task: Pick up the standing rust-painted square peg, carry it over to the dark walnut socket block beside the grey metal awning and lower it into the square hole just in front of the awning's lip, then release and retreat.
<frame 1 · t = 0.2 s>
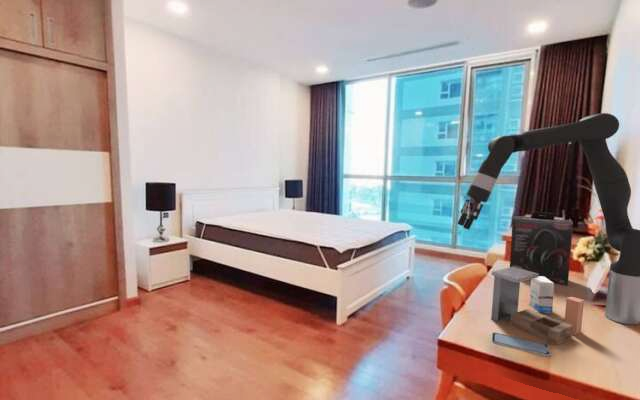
hand: (462, 226, 126), 31 cm above the table, tool tilted 20°, fingers open, 8 cm apart
socket block: (539, 331, 110), on the table
awning: (504, 316, 120), on the table
headset box: (537, 278, 166), on the table
peg: (572, 331, 110), on the table
smartphone: (519, 345, 101), on the table
ink box: (540, 309, 128), on the table
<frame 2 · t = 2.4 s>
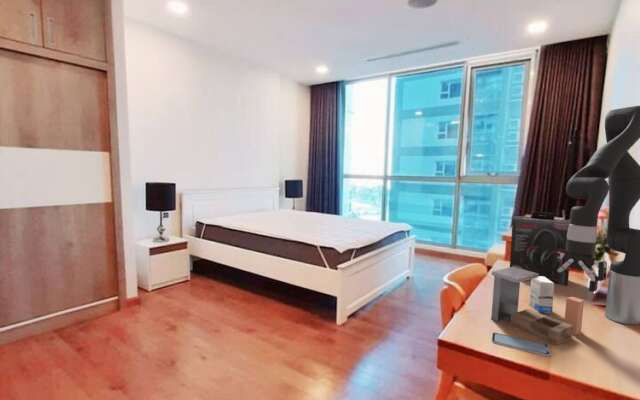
hand: (575, 287, 109), 15 cm above the table, tool pointing down, fingers open, 8 cm apart
nothing on the table moved.
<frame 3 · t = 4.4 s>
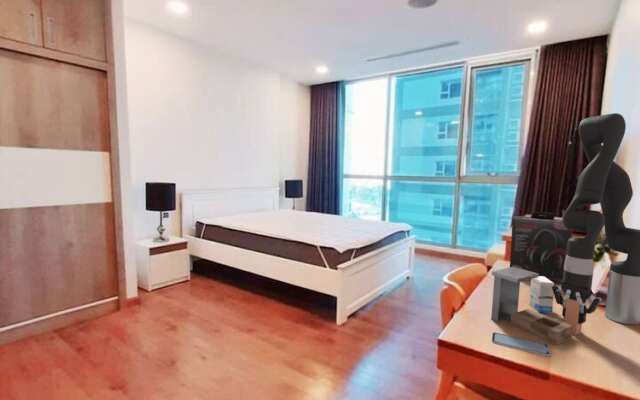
hand: (573, 320, 110), 4 cm above the table, tool pointing down, fingers closed on peg, 3 cm apart
peg: (572, 331, 110), on the table, touching gripper
everything else where it was.
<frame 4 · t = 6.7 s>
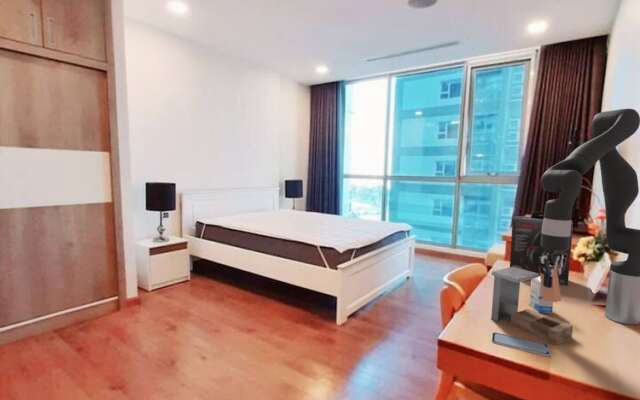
hand: (550, 285, 106), 16 cm above the table, tool pointing down, fingers closed on peg, 3 cm apart
peg: (552, 300, 106), point 12 cm above the table, tilted 12°, touching gripper
everything else where it was.
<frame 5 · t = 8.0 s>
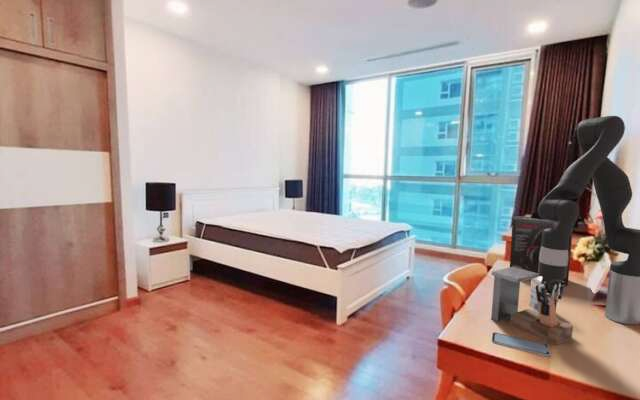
hand: (548, 313, 107), 7 cm above the table, tool pointing down, fingers closed on peg, 3 cm apart
peg: (549, 328, 107), point 2 cm above the table, tilted 12°, touching gripper
everything else where it was.
when the fingers open (5 cm above the table, at t = 9.1 s): peg stays where it is, resting in socket block.
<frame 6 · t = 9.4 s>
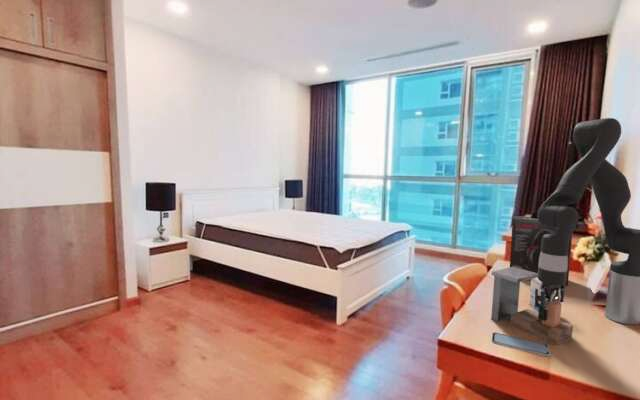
hand: (548, 317, 107), 6 cm above the table, tool pointing down, fingers open, 6 cm apart
peg: (549, 335, 107), resting in socket block
everything else where it was.
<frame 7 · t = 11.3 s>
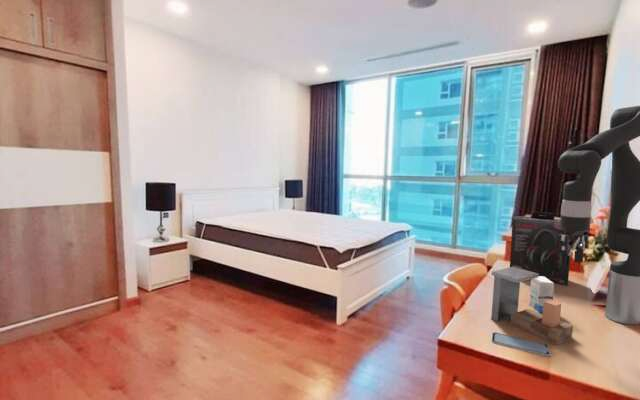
hand: (572, 264, 107), 23 cm above the table, tool pointing down, fingers open, 8 cm apart
nothing on the table moved.
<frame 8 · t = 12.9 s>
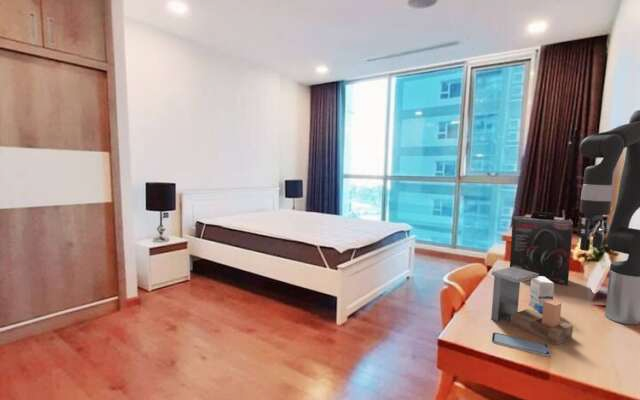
hand: (590, 249, 107), 28 cm above the table, tool pointing down, fingers open, 8 cm apart
nothing on the table moved.
at the end: peg 0.8 cm from the target spot on the socket block, point 0.0 cm above the socket block's base; peg tilted 0°; the gripper is holding nothing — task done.
